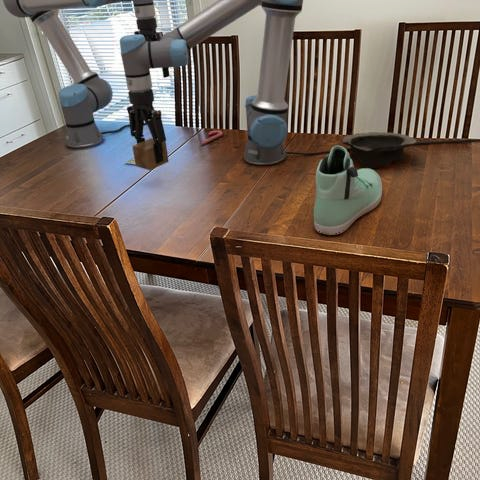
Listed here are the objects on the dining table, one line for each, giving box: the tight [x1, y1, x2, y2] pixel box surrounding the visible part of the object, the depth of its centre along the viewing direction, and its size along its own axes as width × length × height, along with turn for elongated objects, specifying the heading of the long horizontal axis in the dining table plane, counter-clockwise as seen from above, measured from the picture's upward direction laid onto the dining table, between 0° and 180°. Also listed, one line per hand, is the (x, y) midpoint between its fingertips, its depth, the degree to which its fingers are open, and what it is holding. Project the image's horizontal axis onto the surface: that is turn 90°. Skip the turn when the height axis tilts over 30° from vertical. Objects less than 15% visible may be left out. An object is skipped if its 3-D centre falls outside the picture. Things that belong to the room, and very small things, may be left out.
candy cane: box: [200, 130, 224, 146], centre depth 198 cm, size 6×15×2 cm, turn 145°
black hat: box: [341, 131, 418, 169], centre depth 166 cm, size 25×25×9 cm
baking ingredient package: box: [124, 157, 136, 165], centre depth 185 cm, size 9×1×15 cm
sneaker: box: [313, 145, 383, 236], centre depth 133 cm, size 14×35×20 cm, turn 152°
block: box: [131, 137, 169, 171], centre depth 158 cm, size 7×8×7 cm
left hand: (154, 75), depth 193 cm, fingers open, 13 cm apart
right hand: (151, 159), depth 159 cm, fingers closed on block, 7 cm apart
